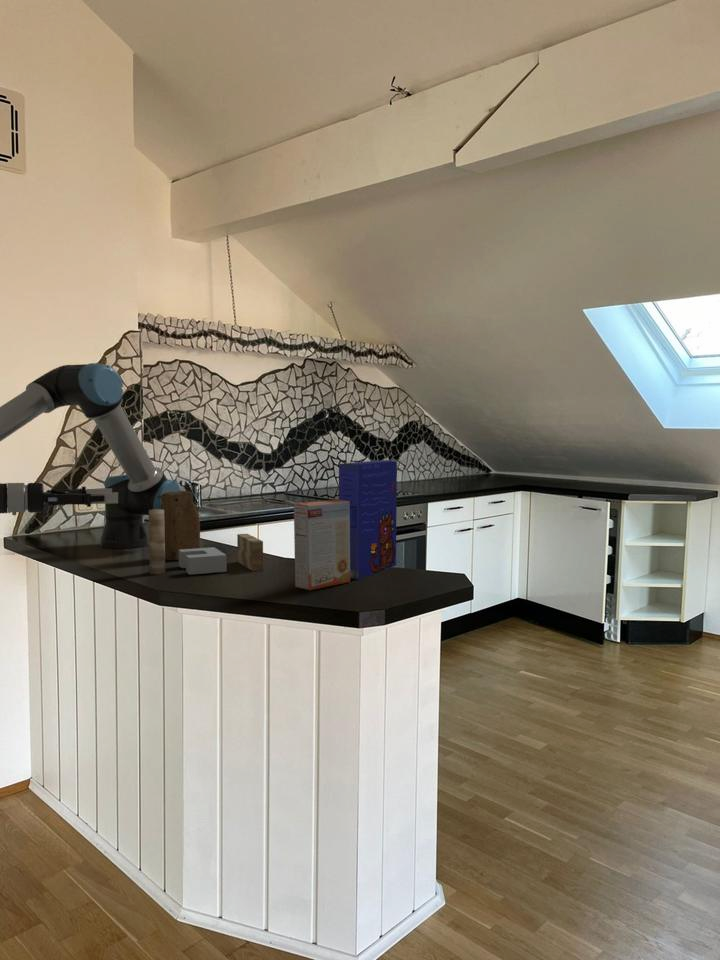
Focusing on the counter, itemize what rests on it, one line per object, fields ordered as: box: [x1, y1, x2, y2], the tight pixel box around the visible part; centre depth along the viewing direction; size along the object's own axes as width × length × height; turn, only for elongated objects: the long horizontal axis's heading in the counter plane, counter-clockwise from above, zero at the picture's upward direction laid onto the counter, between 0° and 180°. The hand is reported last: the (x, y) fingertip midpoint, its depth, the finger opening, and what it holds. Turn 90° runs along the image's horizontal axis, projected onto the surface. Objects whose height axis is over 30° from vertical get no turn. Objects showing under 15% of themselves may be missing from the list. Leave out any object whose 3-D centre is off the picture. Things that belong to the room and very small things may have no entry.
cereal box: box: [338, 459, 398, 580], centre depth 200 cm, size 22×6×30 cm, turn 151°
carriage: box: [178, 547, 228, 576], centre depth 202 cm, size 14×10×4 cm
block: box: [161, 490, 201, 562], centre depth 218 cm, size 11×8×20 cm
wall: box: [236, 533, 264, 572], centre depth 208 cm, size 15×3×8 cm, turn 25°
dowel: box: [148, 509, 166, 576], centre depth 197 cm, size 4×4×17 cm
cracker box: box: [293, 499, 351, 591], centre depth 183 cm, size 14×6×21 cm, turn 134°
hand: (114, 495), depth 195 cm, fingers open, 13 cm apart
